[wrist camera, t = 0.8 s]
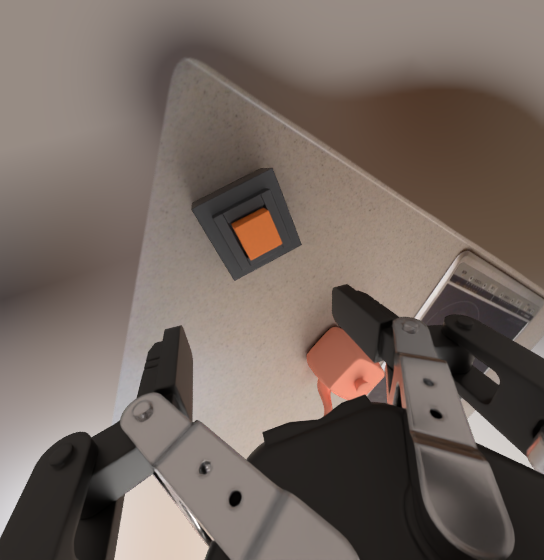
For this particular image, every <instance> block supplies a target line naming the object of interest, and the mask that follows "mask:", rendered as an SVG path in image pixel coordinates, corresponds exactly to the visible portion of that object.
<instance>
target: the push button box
mask: <svg viewBox="0 0 544 560" xmlns="http://www.w3.org/2000/svg"><path fill="white" fill-rule="evenodd" d="M261 208H265V209H266V210H268V211H269V213H270V215H271V217H272V220H273V222H274V224H275V227H276V229H277V231H278V234H279V236H280V238H281V241H282V244H281V245H279V246H277V247H276V248H274V249H272V250H270V251H268V252H266V253H264V254H262V255H261V256H259V257H257V258H255V259H253V260H250V258H249V257H248V255H247V253H246V251H245V250H244V248H243V246H242V244H241V242H240V240H239V238H238V236H237V234H236V233H235V231H234V229H233V227H232V225H231V224H232V223H234V222H236V221H238V220H240V219H242V218H243V217H245V216H247V215H249V214H251V213H253V212H255V211H257V210H259V209H261ZM192 211H193V213H194V214H195V216H196V218H197V219H198V221H199V223H200V224H201V226H202V228H203V229H204V231H205V233H206V234H207V236H208V238H209V239H210V241H211V243H212V244H213V246H214V248H215V249H216V251H217V253H218V254H219V256H220V258H221V259H222V261H223V263H224V264H225V266H226V268H227V269H228V271H229V273H230V274H231V276H232V278H233V279H234V281H235V280H237V279H239V278H241V277H243V276H245V275H247V274H248V273H250V272H252V271H254V270H256V269H258V268H260V267H261V266H263V265H265V264H267V263H269V262H271V261H273V260H274V259H276V258H278V257H280V256H282V255H284V254H286V253H287V252H289V251H291V250H293V249H295V248H297V247H299V246H300V245H302V244H301V241H300V239H299V236H298V234H297V231H296V228H295V226H294V223H293V221H292V218H291V215H290V213H289V210H288V207H287V205H286V202H285V200H284V197H283V194H282V192H281V189H280V186H279V184H278V181H277V179H276V176H275V173H274V171H273V168H260V169H258V170H256V171H254V172H252V173H250V174H249V175H247V176H245V177H243V178H241V179H239V180H237V181H235V182H233V183H231V184H229V185H227V186H225V187H223V188H221V189H219V190H217V191H215V192H213V193H211V194H209V195H207V196H205V197H203V198H201V199H199V200H197V201H195V202H193V203H192Z"/></svg>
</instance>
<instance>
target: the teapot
mask: <svg viewBox="0 0 544 560" xmlns="http://www.w3.org/2000/svg"><path fill="white" fill-rule="evenodd" d="M307 362H308V365H309V367H310V368H311V370H312V371H313V372H314V374H315V375H316V376H317V377H318V383H317V386H318V391H319V394H320V397H321V399H322V402H323V405H324V416H325V415H326V414H328V413H329V412H330V411H332V403H331V397H330V393H331V391H332V392H333V393H334V394H336V395H338V396H339V397H341V398H344V399H346V400H351V399H354V398H356V397H359V396H362V395H364V394H365V395H367V394H368V393H369V392H370V391H371V390H372V389H373V388H374V387H375V386H376V385H377V384H378V383H379V382H380V381H381V379H382V378H383V377H384V375H385V373H384V371H383V369H382V368H381V366H380V364H379V362H377V363H374V362H373V361H372V360H371V359H370V358H369V357H368V356H367V355H366V354H365V353H364V352H363V350H362V349H361V348H360V347H359V346H358V345H357V344H356V343H355V342H354V341H353V340H352V339H351V338H350V336H349V335H348V334H347V333H346V332H345V331H344V330H343V329H341V328H338V327H332V328H331V329H329V330H328V331H327V332H326V333H325V334H324V335H323V336H322V337H321V339H320V340H319V341H318V342H317V343H316V344H315V345H314V346H313V348H312V349H311V350H310V351H309V352H308V354H307Z"/></svg>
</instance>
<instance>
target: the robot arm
mask: <svg viewBox="0 0 544 560" xmlns="http://www.w3.org/2000/svg"><path fill="white" fill-rule="evenodd" d="M332 314H333V317H334V320H335V321H336V322H337V323H338V325H339V326H340V327H341V328H342V329H343V330H344V331H345V332H346V333H347V334H348V335H349V336H350V338H351V339H352V340H353V341H354V342H355V343H356V344H357V345H358V346H359V347H360V348H361V349H362V350H363V352H364V353H365V354H366V355H367V356H368V357H369V358H370V359H371V360H372V361H373V362H374V363H377V362H380V361H383V360H384V361H385V362H386V367H385V371H386V387H387V403H380V402H370V400H369V399H368V398H367V396H366V395H365V394H364V395H362V396H359V397H356V398H354V399H351V400H348V401H345V402H343V403H341V404H340V405H338V406H337V407H336V408H334V409H333V410H332V411H330V412H329V413H328V414H326V415H325V416H324V417H322V418H321V419H318V420H308V421H297V422H289V423H286V424H283V425H281V426H278V427H275V428H273V429H270V430H267V431H265V432H263V437H264V442H263V443H262V444H261V445H259V446H258V447H257V448H256V449H255V450H254V451H253V452H252V453H251V454H250V456H249V457H248V458H247V460H246V459H245V458H244V457H242V456H241V455H240V454H239V453H238V452H236V451H235V450H234V449H233V448H232V447H230V446H229V445H228V444H227V443H226V442H225V441H223V440H222V439H221V438H220V437H219V436H217V435H216V434H215V433H214V432H213V431H211V430H210V429H209V428H208V427H207V426H206V425H204V424H203V423H202V422H200V421H198V420H196V421H195V422H192V411H193V358H192V352H191V349H190V346H189V343H188V340H187V337H186V334H185V332H184V329H183V327H182V325H181V326H177V327H173V328H169V329H165V331H164V336H163V341H161V342H157V343H155V344H154V345H153V346H152V348H151V349H150V350H149V352H148V355H147V359H146V363H145V367H144V371H143V375H142V379H141V383H140V387H139V391H138V395H137V399H135V400H134V401H133V402H131V403H130V404H129V405H128V406H127V408H126V409H125V410H124V412H123V413H122V416H121V419H120V421H118V422H117V423H115V424H114V425H112V426H110V427H109V428H107V429H105V430H104V431H102V432H100V433H98V434H97V435H95V436H93V437H90V435H88V433H86V432H76V433H73V434H71V435H68V436H66V437H64V438H62V439H61V440H59V441H58V442H56V443H55V444H54V445H52V446H51V447H50V448H49V449H48V450H47V451H46V452H45V453H44V454H43V455H42V457H41V458H40V459H39V461H38V462H37V464H36V466H35V467H34V469H33V471H32V474H31V476H30V478H29V480H28V482H27V484H26V486H25V488H24V490H23V492H22V494H21V496H20V498H19V500H18V502H17V505H16V507H15V509H14V511H13V513H12V515H11V517H10V519H9V521H8V523H7V525H6V527H5V530H4V532H3V534H2V536H1V538H0V560H114V557H115V551H116V545H117V539H118V533H119V526H120V520H121V514H122V508H123V501H124V496H125V493H127V492H128V491H130V490H131V489H132V488H134V487H135V486H137V485H138V484H139V483H141V482H142V481H144V480H145V479H146V478H148V477H149V476H150V475H153V476H154V477H155V478H156V480H157V481H158V482H159V483H160V485H161V486H162V487H163V489H164V490H165V491H166V492H167V494H168V495H169V496H170V497H171V499H172V500H173V501H174V502H175V504H176V505H177V506H178V508H179V509H180V510H181V512H182V513H183V514H184V516H185V517H186V519H187V520H188V521H189V523H190V524H191V525H192V527H193V528H194V529H195V531H196V532H197V533H198V534H199V536H200V537H201V538H202V540H203V541H204V542H205V544H206V545H207V546H208V548H209V550H208V552H207V555H206V557H205V560H544V358H542V357H540V356H539V355H537V354H535V353H533V352H532V351H530V350H528V349H526V348H525V347H523V346H521V345H519V344H518V343H516V342H514V341H512V340H511V339H509V338H507V337H506V336H504V335H502V334H500V333H499V332H497V331H495V330H493V329H492V328H490V327H488V326H486V325H485V324H483V323H481V322H479V321H478V320H476V319H474V318H471V317H468V316H464V315H449V316H447V317H445V319H444V323H443V325H433V326H427V325H426V324H425V323H423V322H422V321H420V320H417V319H415V318H410V317H398V316H397V315H396V314H394V313H393V312H392V311H390V310H389V309H387V308H386V307H385V306H383V305H382V304H380V303H379V302H378V301H376V300H374V298H372V297H371V296H369V295H368V294H366V293H363V292H361V291H356V290H355V289H353V288H352V287H351V286H349V285H348V284H345V285H341V286H337V287H334V288H333V290H332ZM475 357H476V358H477V359H479V360H480V361H481V362H483V363H484V364H485V365H487V366H488V367H490V368H491V369H492V370H494V371H495V372H496V373H497V375H498V377H499V379H500V384H499V385H498V384H497V383H495V382H494V381H493V380H491V379H490V378H489V377H487V376H486V375H485V374H483V373H482V372H481V371H479V370H478V369H477V368H475V367H474V366H473V365H472V364H473V361H474V358H475ZM458 394H459V395H460V396H461V397H462V398H463V399H464V400H465V401H467V402H468V403H469V404H470V405H471V406H472V407H473V408H474V409H475V410H476V411H477V412H479V413H480V414H481V415H482V416H483V417H484V418H485V419H486V420H488V422H489V423H491V424H492V425H493V426H494V427H495V428H496V429H497V430H498V431H499V432H500V433H501V434H503V435H504V436H505V437H506V438H507V439H508V440H509V441H510V442H511V443H512V444H514V445H515V446H516V447H517V448H518V449H519V450H520V451H521V452H522V453H523V454H524V455H525V456H527V458H528V460H529V462H530V464H531V465H532V467H533V468H534V469H535V470H533V469H531V468H529V467H527V466H525V465H523V464H521V463H518V462H516V461H514V460H512V459H510V458H508V457H506V456H503V455H501V454H499V453H497V452H495V451H493V450H490V449H488V448H486V447H484V446H482V445H480V444H477V443H476V442H475V440H474V438H473V434H472V432H471V429H470V426H469V423H468V420H467V417H466V414H465V412H464V409H463V406H462V403H461V400H460V397H459V395H458Z"/></svg>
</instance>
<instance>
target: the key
mask: <svg viewBox="0 0 544 560" xmlns="http://www.w3.org/2000/svg"><path fill="white" fill-rule="evenodd" d="M231 225H232V227H233V229H234V231H235V233H236V234H237V236H238V238H239V240H240V242H241V244H242V246H243V248H244V250H245V251H246V253H247V255H248V257H249V258H250V260H253V259H255V258H257V257H259V256H261V255H262V254H264V253H266V252H268V251H270V250H272V249H274V248H276V247H277V246H279V245H281V244H282V241H281V238H280V236H279V234H278V231H277V229H276V227H275V224H274V222H273V220H272V217H271V215H270V213H269V211H268V210H266V209H265V208H261V209H259V210H257V211H255V212H253V213H251V214H249V215H247V216H245V217H243V218H242V219H240V220H238V221H236V222H234V223H232V224H231Z"/></svg>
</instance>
